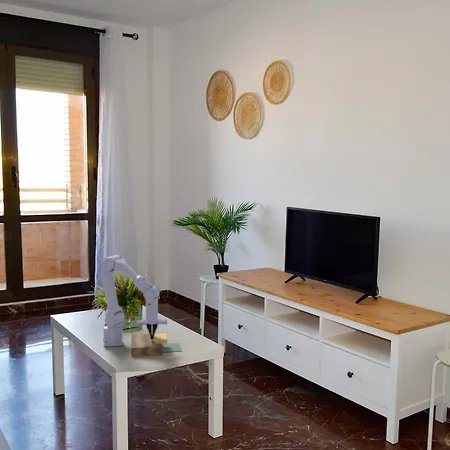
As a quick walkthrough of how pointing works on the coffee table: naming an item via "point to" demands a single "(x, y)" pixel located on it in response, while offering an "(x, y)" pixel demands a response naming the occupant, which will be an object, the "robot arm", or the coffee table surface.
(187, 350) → the coffee table surface
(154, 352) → the deck
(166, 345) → the mat
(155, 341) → the yellow rectangular block
